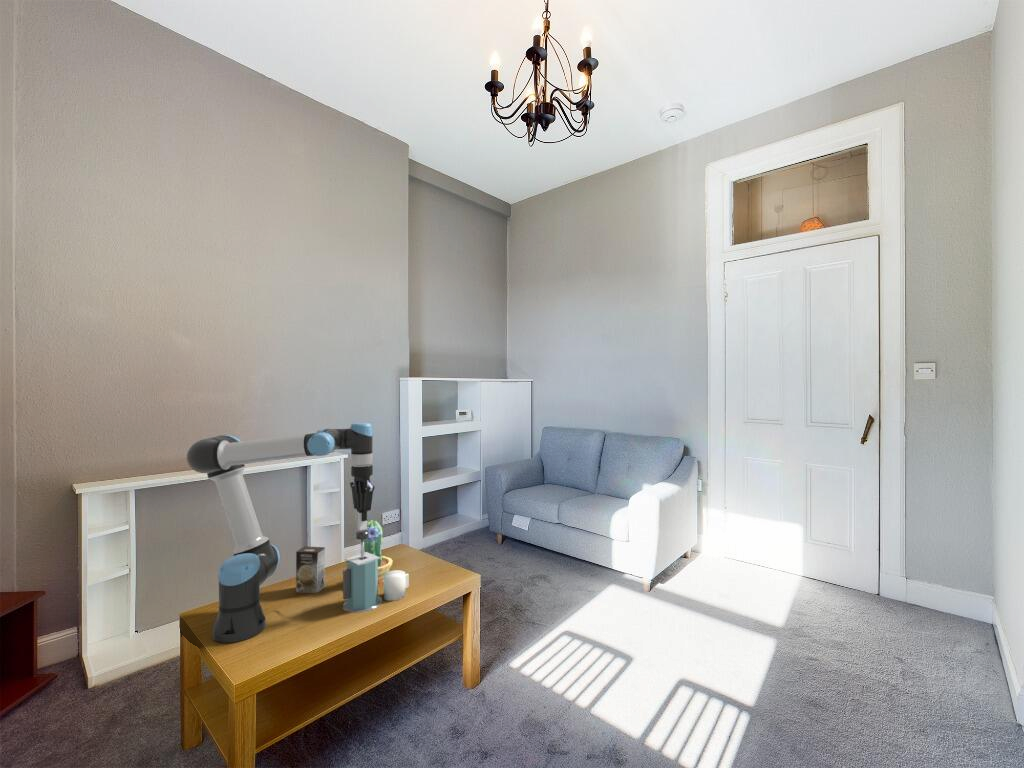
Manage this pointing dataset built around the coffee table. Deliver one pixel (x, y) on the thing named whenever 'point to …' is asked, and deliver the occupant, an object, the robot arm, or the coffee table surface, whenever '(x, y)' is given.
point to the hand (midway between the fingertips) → (362, 529)
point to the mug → (395, 585)
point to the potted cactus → (377, 548)
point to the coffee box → (310, 569)
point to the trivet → (363, 609)
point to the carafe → (361, 581)
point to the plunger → (362, 540)
